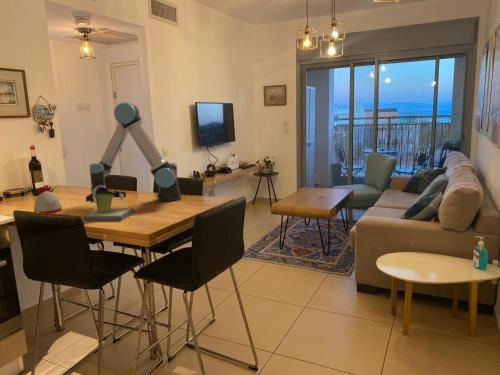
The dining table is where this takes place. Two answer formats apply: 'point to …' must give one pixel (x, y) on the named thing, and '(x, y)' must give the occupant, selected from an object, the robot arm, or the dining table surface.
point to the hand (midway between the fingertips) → (109, 199)
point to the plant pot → (104, 202)
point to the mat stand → (109, 215)
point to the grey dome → (47, 202)
